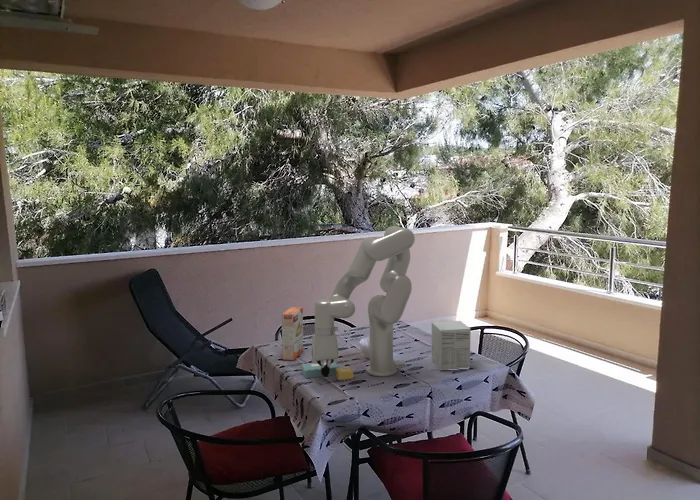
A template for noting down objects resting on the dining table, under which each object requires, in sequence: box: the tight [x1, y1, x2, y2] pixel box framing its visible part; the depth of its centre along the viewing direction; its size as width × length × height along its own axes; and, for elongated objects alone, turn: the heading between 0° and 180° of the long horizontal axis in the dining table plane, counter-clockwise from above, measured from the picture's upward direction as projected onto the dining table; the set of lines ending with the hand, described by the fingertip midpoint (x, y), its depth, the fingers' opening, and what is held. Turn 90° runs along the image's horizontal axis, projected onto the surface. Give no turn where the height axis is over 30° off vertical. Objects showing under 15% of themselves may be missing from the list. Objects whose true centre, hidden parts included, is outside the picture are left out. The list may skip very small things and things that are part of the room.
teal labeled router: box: [301, 361, 340, 379], centre depth 220 cm, size 14×8×3 cm, turn 104°
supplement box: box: [431, 320, 472, 371], centre depth 226 cm, size 13×13×18 cm
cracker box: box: [281, 306, 304, 361], centre depth 241 cm, size 14×6×21 cm, turn 168°
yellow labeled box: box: [335, 366, 354, 381], centre depth 215 cm, size 6×5×3 cm
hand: (325, 375), depth 213 cm, fingers closed
